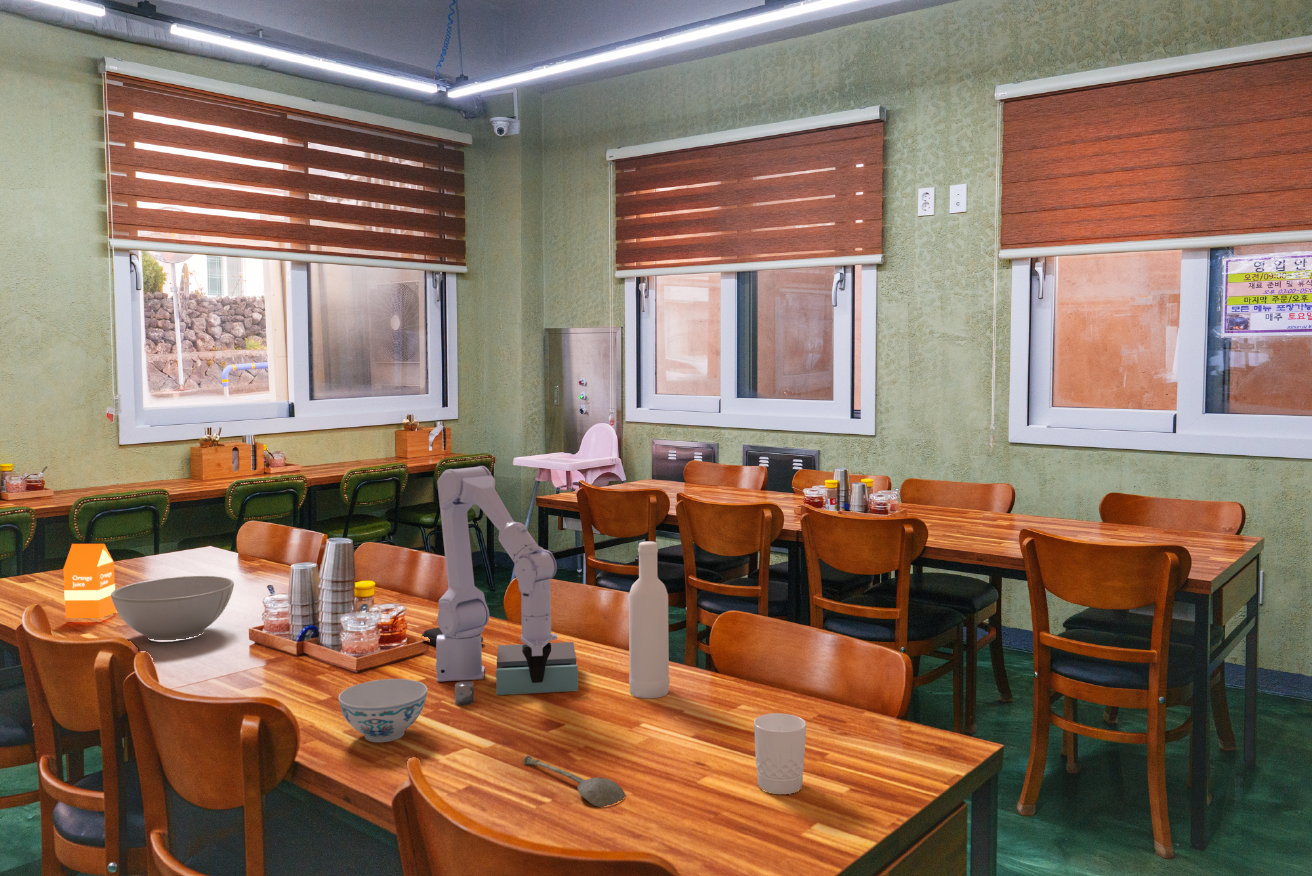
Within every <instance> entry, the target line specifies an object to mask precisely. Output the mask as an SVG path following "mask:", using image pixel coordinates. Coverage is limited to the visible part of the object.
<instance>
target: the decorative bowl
mask: <svg viewBox="0 0 1312 876" xmlns="http://www.w3.org/2000/svg"><path fill="white" fill-rule="evenodd" d="M234 586H235V582H234V581H233V580H232V579H231V578H227V577H223V576H215V575H214V576H213V575H190V576H189V575H186V576H173V577H164V578H163V577H162V578H155V579H150V580H144V581H139V582H135V583H134V582H133V583H130V584H126V585H122V586H120V587H118V588H115V590H114V591H113V592H112V593H111V599H112V602H113V604H114V606H115V608H116V613H117V614H118V615H119V617H120V618H121V619H122V620H123V621H124V622H125V624H126V625H128V626H129V627H130V628H131V629H132V630H134V631H135V632H136V633H139V634H142V635H144V636H146V638H147V637H148V638H149V639H154V640H176V639H186V638H189V637H194V636H198V635H199V634H202V633H203V632H204V631H205V629H206V628H208V627H209V626H211V625H212V624H213V623H214V622H215V621H217V619H219V618H220V616H221V615H222V614H223V612H224V611H225V610H226V607H227V606H228V604H229V601H230V600H231V597H232V594H233V590H234ZM203 634H204V633H203ZM203 634H202V635H203Z"/></svg>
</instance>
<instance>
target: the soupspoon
mask: <svg viewBox="0 0 1312 876" xmlns="http://www.w3.org/2000/svg"><path fill="white" fill-rule="evenodd" d="M522 764H523V765H524V766H525V764H526V765H529V766H531V765H532V766H536V767H537V766H539V767H542V768H544V769H547V770H549V771H553V772H554V773H557V774H559V775H562V776H565V777H567V778H569V779H571V780H573V781H575V782H577V783H578V785H577V791H578V793H579V794H580V795H581V797H582V798H584V799H585V800H586V801H588V803H590V804H591V805H593V806H595V807H598V808H600V807H604V806H607V805H612V804H614V803H617V802H618V801H621V800H623V798H624V797H625V796H626V794H625V791H624V790H623V788H622V787H621V786H620V785H619V784H618V783H616V782H615V781H613V780H612V779H609V778H605V777H591V778H588V779H584V778H582V777H579V775H575V774H573V773H571V772H569V771H566V770H563V769H561V768H558V767H555V766H553V765H550V764H546V763H544V762H542V761H540V760H539V759H534V758H532V756H531V755H530V754H529V755H525V756H524V758H523V759H522ZM623 801H624V800H623Z"/></svg>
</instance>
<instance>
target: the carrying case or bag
mask: <svg viewBox="0 0 1312 876" xmlns="http://www.w3.org/2000/svg"><path fill="white" fill-rule="evenodd" d="M437 635H443V633H442V631H441V630H440V628H439V626H438V627H435V628H434V627H433V628H430V629H429V628H428V629H425V630H424V632H423V633H422V634H421V637H422V636H424V637H428V638H429V639H430V643H431V644H430V643H429V644H430V645H433V646H435V645H436V641H437ZM483 642H484V637H483V636H481V644H483Z"/></svg>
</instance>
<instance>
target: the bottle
mask: <svg viewBox="0 0 1312 876" xmlns="http://www.w3.org/2000/svg"><path fill="white" fill-rule="evenodd" d="M637 552H638V579H637V580H636V581H635V582H633V584H632V585H631V588H630V590H629V593H628V636H629V637H628V641H629V643H628V645H629V646H628V647H629V649H628V650H629V652H628V653H629V654H628V655H629V656H628V657H629V661H628V662H629V664H628V665H629V675H628V685H629V694H630V695H632V696H634V697H636V698H639V699H645V698H648V699H651V698H652V699H659V698H662V697H665V696H667V695H668V693H669V691H670V675H669V673H670V671H669V670H670V669H669V668H670V667H669V666H670V664H669V663H670V662H669V658H670V657H669V656H670V655H669V654H670V652H669V594H668V590H667V587H666V585H665V583H663V581H661V579H659V577H658V552H659V548H658V543H657V542H656V541H642V542H639V543H638V548H637Z"/></svg>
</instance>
